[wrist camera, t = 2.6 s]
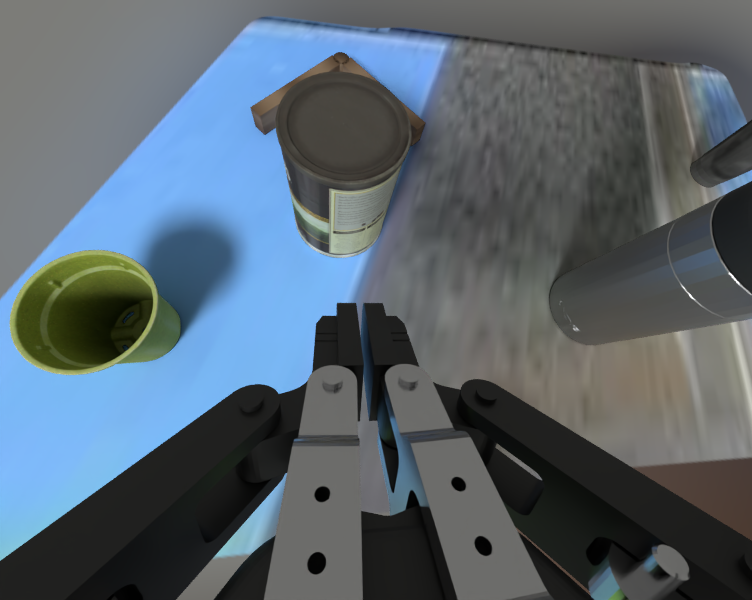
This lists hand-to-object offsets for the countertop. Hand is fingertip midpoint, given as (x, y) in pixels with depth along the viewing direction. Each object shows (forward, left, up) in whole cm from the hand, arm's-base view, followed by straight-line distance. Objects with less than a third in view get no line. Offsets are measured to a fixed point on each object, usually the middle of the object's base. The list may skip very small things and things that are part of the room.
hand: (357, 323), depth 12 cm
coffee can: (-6, -16, -22) cm, 28 cm away
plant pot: (+16, -10, -22) cm, 29 cm away
